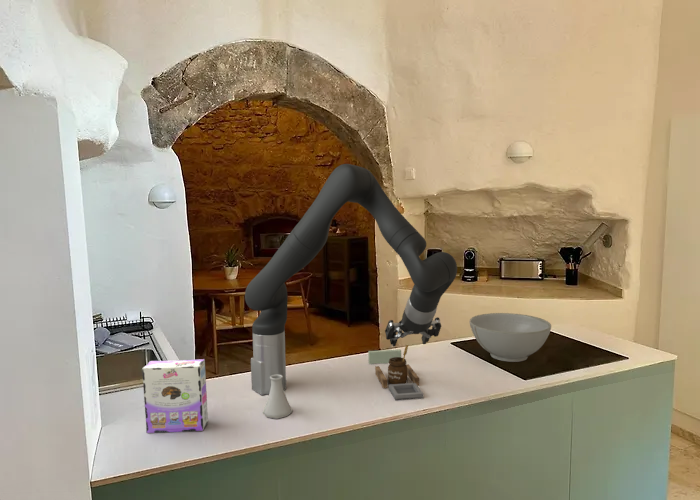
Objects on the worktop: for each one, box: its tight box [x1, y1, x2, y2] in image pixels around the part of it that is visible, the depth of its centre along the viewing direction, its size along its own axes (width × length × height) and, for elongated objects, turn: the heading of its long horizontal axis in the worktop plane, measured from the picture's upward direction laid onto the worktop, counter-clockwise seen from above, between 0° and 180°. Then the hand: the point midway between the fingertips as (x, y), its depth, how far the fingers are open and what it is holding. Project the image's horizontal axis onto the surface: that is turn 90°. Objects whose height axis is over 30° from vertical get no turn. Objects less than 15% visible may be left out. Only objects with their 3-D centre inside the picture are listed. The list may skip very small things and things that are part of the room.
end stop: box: [367, 348, 402, 365], centre depth 170 cm, size 2×11×4 cm, turn 98°
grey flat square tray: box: [388, 382, 424, 401], centre depth 144 cm, size 8×8×1 cm
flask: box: [262, 374, 293, 420], centre depth 132 cm, size 7×7×10 cm
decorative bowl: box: [469, 312, 552, 363], centre depth 175 cm, size 27×27×12 cm
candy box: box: [141, 358, 209, 434], centre depth 124 cm, size 14×6×16 cm, turn 92°
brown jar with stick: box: [387, 344, 409, 385], centre depth 152 cm, size 6×6×12 cm
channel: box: [374, 363, 420, 389], centre depth 155 cm, size 12×11×2 cm
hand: (408, 342), depth 140 cm, fingers open, 8 cm apart
